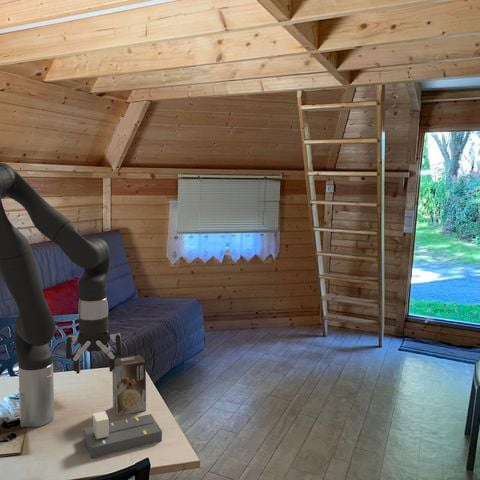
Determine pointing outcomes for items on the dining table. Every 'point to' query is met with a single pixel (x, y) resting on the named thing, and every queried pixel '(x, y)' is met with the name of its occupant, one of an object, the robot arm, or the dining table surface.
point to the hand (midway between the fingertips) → (94, 371)
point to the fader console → (124, 436)
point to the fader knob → (100, 425)
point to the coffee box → (129, 385)
